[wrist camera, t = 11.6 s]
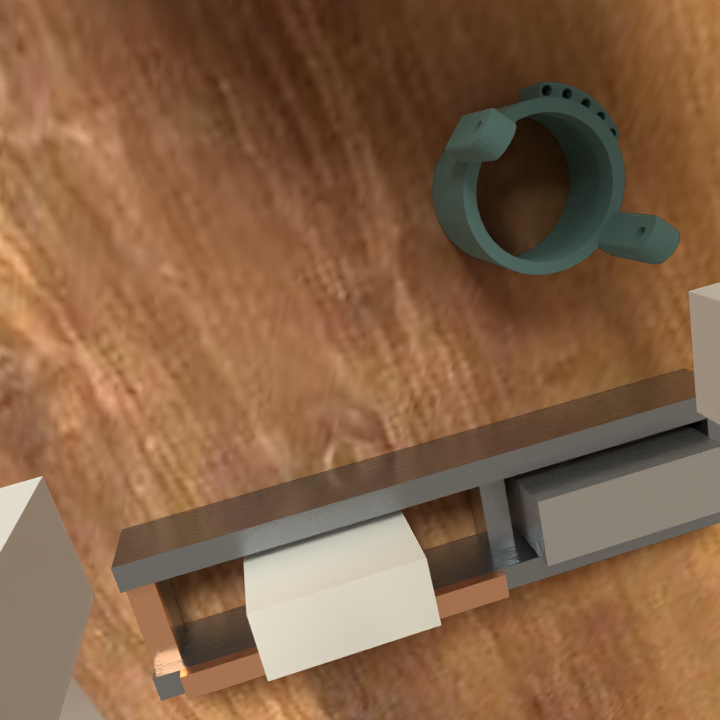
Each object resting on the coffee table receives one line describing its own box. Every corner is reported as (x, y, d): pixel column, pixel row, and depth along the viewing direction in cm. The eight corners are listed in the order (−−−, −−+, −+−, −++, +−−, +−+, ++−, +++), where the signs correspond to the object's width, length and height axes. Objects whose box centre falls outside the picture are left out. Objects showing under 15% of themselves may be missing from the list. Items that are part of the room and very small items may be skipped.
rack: (122, 529, 39) (104, 590, 33) (684, 368, 43) (754, 398, 37) (166, 652, 41) (157, 728, 36) (694, 488, 45) (761, 533, 40)
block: (241, 531, 40) (246, 614, 33) (389, 487, 41) (426, 558, 34) (259, 588, 41) (267, 681, 34) (402, 544, 43) (441, 625, 35)
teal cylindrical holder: (587, 244, 40) (687, 261, 31) (436, 278, 39) (497, 305, 30) (572, 80, 37) (676, 49, 29) (410, 110, 36) (468, 88, 28)
